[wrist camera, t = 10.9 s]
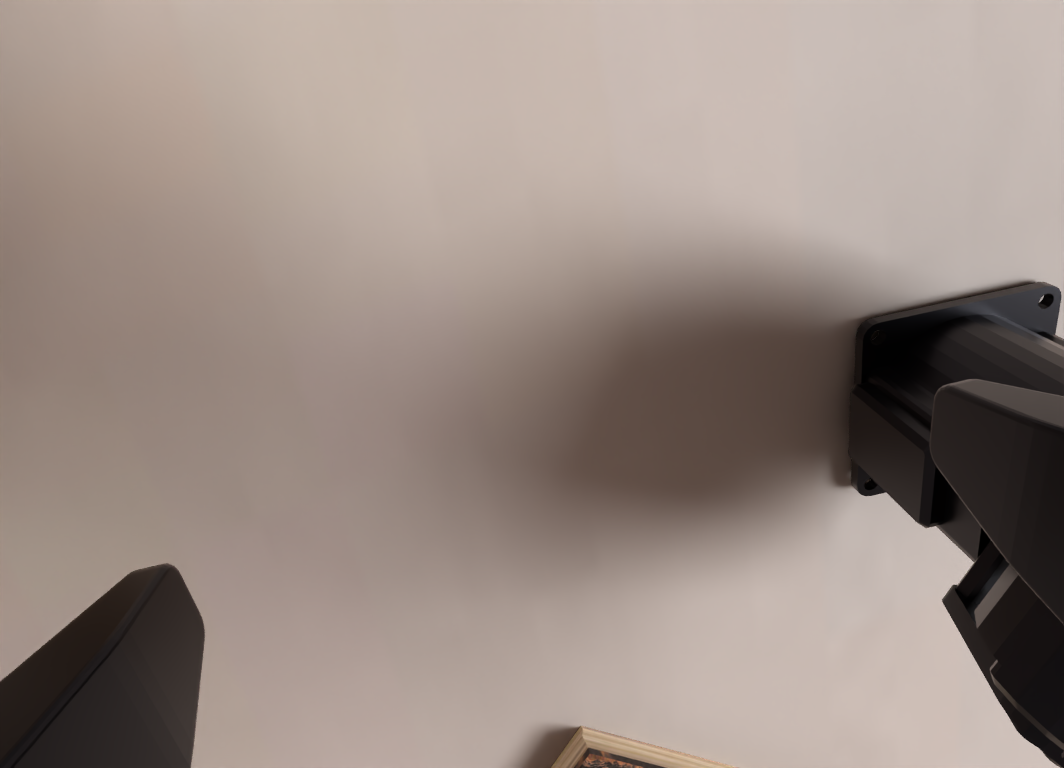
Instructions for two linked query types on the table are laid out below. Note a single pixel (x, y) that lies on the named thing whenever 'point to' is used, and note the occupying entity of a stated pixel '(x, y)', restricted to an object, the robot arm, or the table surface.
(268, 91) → the table surface
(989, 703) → the table surface
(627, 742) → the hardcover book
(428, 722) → the table surface
